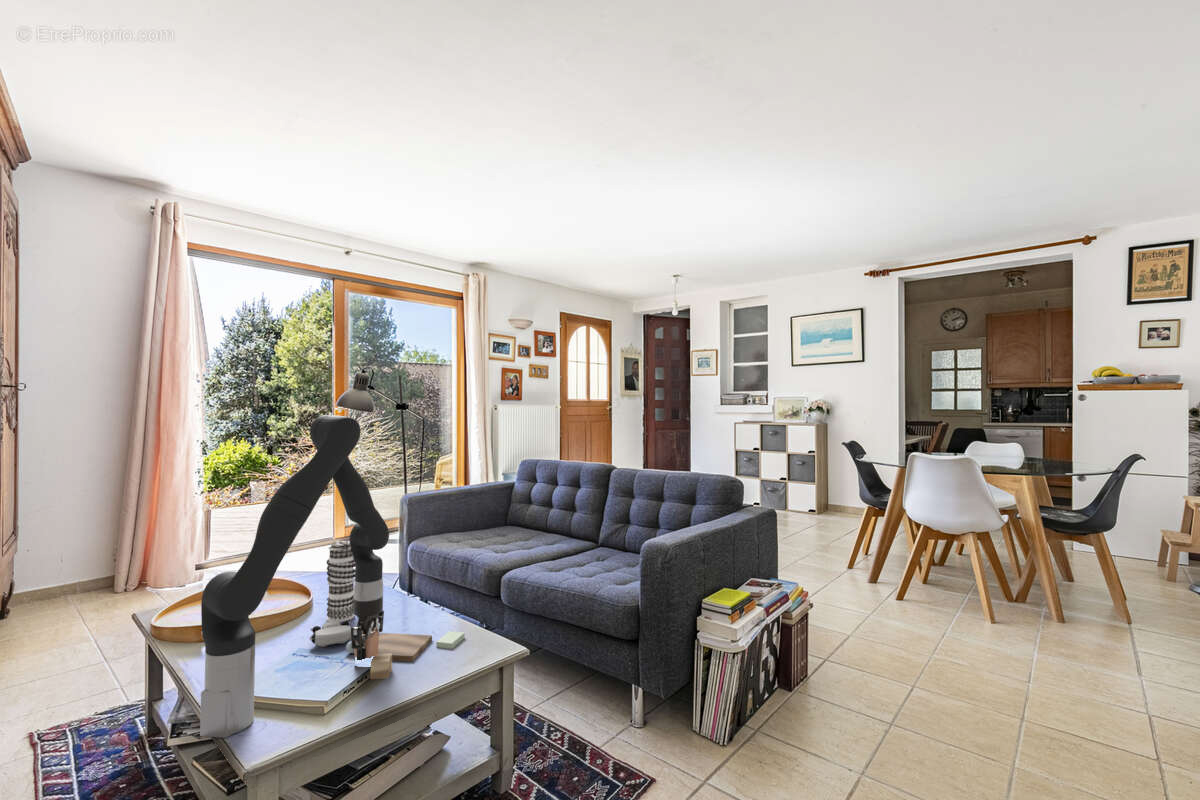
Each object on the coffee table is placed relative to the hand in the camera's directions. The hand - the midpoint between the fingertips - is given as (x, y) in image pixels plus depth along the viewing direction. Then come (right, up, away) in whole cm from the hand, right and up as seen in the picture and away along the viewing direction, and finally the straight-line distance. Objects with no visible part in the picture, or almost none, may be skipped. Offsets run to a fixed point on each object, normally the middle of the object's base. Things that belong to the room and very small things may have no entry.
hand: (367, 655), depth 153 cm
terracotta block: (0, -2, -1) cm, 2 cm away
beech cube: (+6, -2, -7) cm, 9 cm away
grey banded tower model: (-22, -2, +32) cm, 39 cm away
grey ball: (-7, 0, +6) cm, 9 cm away
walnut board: (+5, -2, +9) cm, 10 cm away
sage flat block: (+19, -3, +14) cm, 24 cm away
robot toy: (-17, -2, +15) cm, 22 cm away
